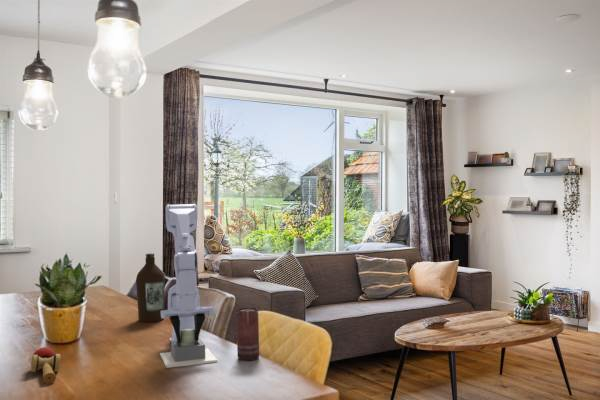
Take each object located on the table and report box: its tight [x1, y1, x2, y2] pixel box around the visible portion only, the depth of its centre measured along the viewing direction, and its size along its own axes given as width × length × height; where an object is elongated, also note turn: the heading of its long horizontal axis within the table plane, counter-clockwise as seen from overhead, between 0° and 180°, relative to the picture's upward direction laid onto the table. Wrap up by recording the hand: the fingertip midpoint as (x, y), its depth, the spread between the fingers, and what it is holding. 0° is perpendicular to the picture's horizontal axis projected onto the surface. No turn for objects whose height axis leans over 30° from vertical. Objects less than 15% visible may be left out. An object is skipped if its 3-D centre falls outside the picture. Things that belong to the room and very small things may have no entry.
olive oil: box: [135, 253, 166, 323], centre depth 225 cm, size 11×11×25 cm
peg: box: [180, 329, 195, 346], centre depth 170 cm, size 4×4×7 cm
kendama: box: [30, 346, 62, 384], centre depth 158 cm, size 8×6×18 cm
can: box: [236, 307, 260, 362], centre depth 169 cm, size 6×6×14 cm
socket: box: [159, 337, 218, 369], centre depth 170 cm, size 14×14×4 cm
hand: (187, 341), depth 170 cm, fingers open, 4 cm apart
